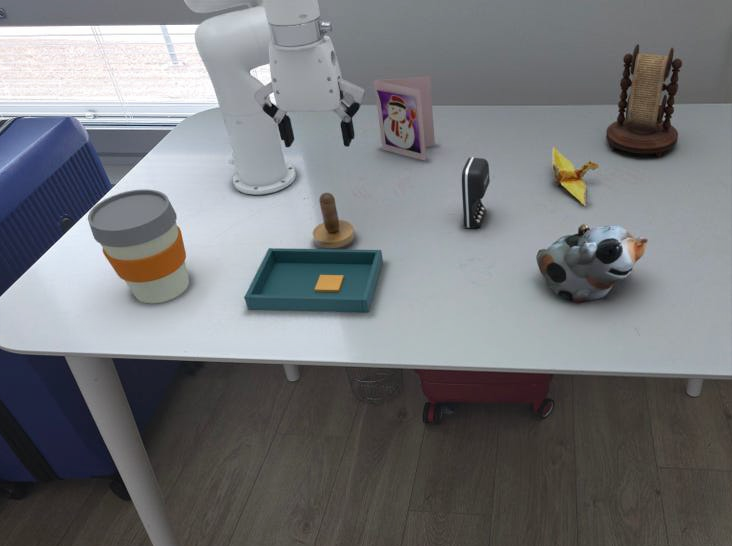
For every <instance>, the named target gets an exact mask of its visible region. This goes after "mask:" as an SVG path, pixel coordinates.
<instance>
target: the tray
mask: <svg viewBox="0 0 732 546" xmlns="http://www.w3.org/2000/svg"><path fill="white" fill-rule="evenodd" d="M383 264H384V259H383V251H382V249H350V248H349V249H348V248H346V249H319V248H286V247H285V248H284V247H283V248H281V247H280V248H279V247H274V248H273V247H269V248H268V249H267V251H266V253H265V255H264V257H263V259H262V261H261V263H260V265H259V267H258V269H257V270H256V273H255V274H254V277H253V279H252V281H251V283H250V285H249V287H248V288H247V291H246V293H245V294H244V297H243V298H244V302H245V304H246V307H247V310H248V311H276V312H277V311H282V312H283V311H284V312H320V313H321V312H327V313H328V312H329V313H367V314H368V313H370V310H371V306H372V302H373V299H374V295H375V292H376V289H377V285H378V281H379V278H380V274H381V271H382V267H383ZM320 275H344V280H343V283H342V286H341V288H340V291H339V293H329V292H315V287H316V284H317V282H318V279H319V277H320Z"/></svg>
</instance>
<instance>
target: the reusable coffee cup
mask: <svg viewBox="0 0 732 546" xmlns="http://www.w3.org/2000/svg"><path fill="white" fill-rule="evenodd" d="M177 217H178V216H177V212H176V211H175V209H174V206H173V205H172V203H171V201H170V199H169V197H168V196H167V195H166V194H165V193H163V192H162V191H160V190H155V189H141V188H140V189H133V190H128V191H123V192H120V193H115V194H113V195H111V196H109V197H107V198H104V199H103V200H101V201H100V202H98V203H96V205H94V206H93V207H92V208H91V210H90V211H89V212H88V215H87V221H88V224H89V227H90V230H91V234H92V236H93V239H94V240H95V241H96V242H97V243H98V244H99V245H100V246H101V247H102V253H103V255H104V257H105V259H106V260H107V262H108V263H109V264H110V265H111V267H112V269H113V271H114V272H115V273H116V275H117V276H118V277H119V278H120V279H122V280H123V281H124V282H125V284H126V285H127V286H128V287H129V290H130V291H131V292H132V294H133V295H134V297H135V299H136V300H138V301H139V302H141V303H144V304H160V303H165V302H168V301H171V300H173V299H176V298H177V297H179V296H181V295H182V294H183V293H184V292H185V291H187V289H188V287H189V284H190V277H189V273H188V269H187V263H186V260H187V259H186V258H187V252H186V246H185V243H184V239H183V235H182V230H181V228H180V227H179V226H178V224H177V219H178V218H177Z"/></svg>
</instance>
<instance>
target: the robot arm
mask: <svg viewBox="0 0 732 546" xmlns="http://www.w3.org/2000/svg"><path fill="white" fill-rule="evenodd" d="M183 1H184V3H185V5H186V6H187V8H189V9H190V10H191V11H192V12H194V13H198V14H207V13H213V12H217V11H222V10H226V9H231V8H236V7H238V6H239V7H240V6H243V5H246V6H248V8H244V9H241V10H235V11H230V12H227V13H222V14H219V15H215V16H212V17H209V18H207V19H205V20H202V22H201V23H200V24H199V25H197V27H196V29H195V32H194V43H195V47H196V51H197V52H198V55H199V57H200V59H201V62H202V64H203V66H204V68H205V70H206V72H207V74H208V77H209V80H210V82H211V84H212V87H213V90H214V94H215V97H216V100H217V103H218V107H219V110H220V113H221V116H222V120H223V124H224V127H225V131H226V133H227V137H228V141H229V144H230V148H231V151H232V153H231V154H232V156H229V157H228V158H227V162H228V164H231V165H233V166H234V168H235V174H234V175H233V177H232V183H233V187H234V188H235V189H236V191H238V192H241V193H243V194H246V195H254V196H259V195H267V194H268V195H269V194H273V193H276V192H280V191H281V190H284V189H285V188H287V187H288V186H290V185H292V183H293V182H295V179H296V177H297V175H296V174H297V173H296V169H295V167H294V166H293V165H292V164H290V163H289V162H286V160H285V156H284V155H285V154H284V151H283V147H282V141H283V143H284V147H285V148H291V146H292V145H293V143H294V141H295V140H296V139H295V134H294V130H293V125H292V120H291V117H289V115H287V113H311V112H312V113H313V112H314V113H315V112H316V113H317V112H333V113H335V114H336V115H337V116H338V117H339V119H341V121H340V131H341V134H342V135H341V136H342V141H343V146H344V147H345V148H346V147H347V148H349V147H350V145H351V143H352V141H353V140H354V139H355V137H356V136H355V135H356V134H355V128H354V123H353V117H355V115H356V114H357V113H358V112H359V110H360V108H361V105H362V104H363V103H362V102H363V100H364V97H365V94H366V90H365V89H364V88H363V87H361V86H358V85H356V84H354V83H353V82H350V81H348V80H346V79H343V76H342V72H341V68H340V65H339V60H338V57H337V54H336V50H335V47H334V45H333V42H332V40H331V37H330V36H329V35H325V34H327V33H332V32H333V25H332V22H331V21H326V20H324V19H323V16H322V15H321V12H320V6H319V1H318V0H183ZM266 65H269V72H270V80H271V81H270V82H269V83H267V84H266V85H264V83H263V82H261V80H259V79H258V78H256V77H255V76H254V75H252V73H251V71H252V70H254V69H257V68H259V67H262V66H266ZM271 94H273V96H274V101H275V103H276V105H275V104H274V103H273V102H272V101H271V96H270V95H271ZM346 94H348V95H349V96H352V97H353V100H352V102H351V104H350V105H349V104H348V103H347V102H346V101H345V100H344V99H345V97H346Z"/></svg>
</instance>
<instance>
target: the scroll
mask: <svg viewBox="0 0 732 546" xmlns="http://www.w3.org/2000/svg"><path fill="white" fill-rule="evenodd" d="M634 46H635V47H634V49H633V52H632V54H631V53H626V54H625V55H623V58H622V61H623V63H624V64H623V67H624V69H623V71H622V78H620V83H619V87H620V90H621V93H620V95H619V99H620V100H619V101H618V102H617V107H618V110H617V111H618V115H617V117H616V121H614V122H612V123H611V124H609V125H608V126H607V129H606V133H605V138H606V141H607V142H608V143H609V144H610V145H611V150H612V151H613V152H614V151H616V149H618V150H621V151H624V152H628V153H633V154H644V155H645V154H656V157H657V158H660V157H661V156H662V154H663V152H665V151H667V150H670V149H672V148H673V147H675V145H676V144H677V143H678V138H679V132H678V130H677V128H676V127H674V125H672V123H671V119H672V118H673V116H672V115H673V114H674V112H675V107H674V104H675V96H676V95H677V93H678V89H679V84H678V81H679V73H680V72H681V70H680V69H681V68H682V67H683V61H682V59H680V58H675V59H673V58H674V52H675V51H674V49H675V48H674V47H670V49H669V53H668V55H659V54H649V53H641V52H640V44H639V43H637V44H635V45H634ZM671 72H672V74H671V76H670V73H671ZM631 75H632V79H631V78H630V77H631ZM669 76H670V79H669V80H670V83H667V84H666V83H665V82H666V80H667V79H668V78H669ZM629 88H630V91H629V95H628V90H629ZM664 91H666V92H667V94H664V95H663V97H662V92H664ZM667 95H668V97H667ZM661 97H662V101H661ZM660 103H661V104H660ZM663 119H664V120H663Z"/></svg>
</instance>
